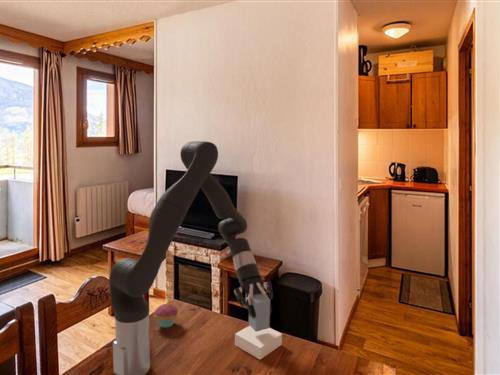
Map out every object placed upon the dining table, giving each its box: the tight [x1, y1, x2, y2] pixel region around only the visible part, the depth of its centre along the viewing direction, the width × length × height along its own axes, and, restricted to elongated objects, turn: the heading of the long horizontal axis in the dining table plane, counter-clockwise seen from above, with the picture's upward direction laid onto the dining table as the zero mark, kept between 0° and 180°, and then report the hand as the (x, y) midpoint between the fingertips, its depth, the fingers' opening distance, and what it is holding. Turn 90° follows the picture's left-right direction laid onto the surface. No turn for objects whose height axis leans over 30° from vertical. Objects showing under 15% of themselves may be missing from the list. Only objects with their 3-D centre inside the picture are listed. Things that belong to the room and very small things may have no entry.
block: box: [248, 294, 271, 332], centre depth 115 cm, size 5×5×10 cm
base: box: [234, 325, 283, 361], centre depth 116 cm, size 11×11×4 cm
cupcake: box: [153, 291, 179, 329], centre depth 126 cm, size 9×8×12 cm
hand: (262, 315), depth 113 cm, fingers closed on block, 5 cm apart
